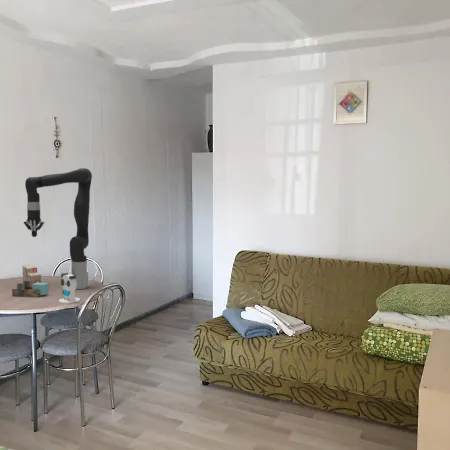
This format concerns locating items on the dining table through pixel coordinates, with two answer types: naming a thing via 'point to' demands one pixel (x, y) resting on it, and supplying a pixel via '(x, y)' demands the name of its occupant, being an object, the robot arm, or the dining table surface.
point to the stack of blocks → (31, 274)
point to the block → (40, 288)
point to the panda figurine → (68, 288)
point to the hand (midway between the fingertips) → (34, 236)
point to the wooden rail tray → (25, 290)
